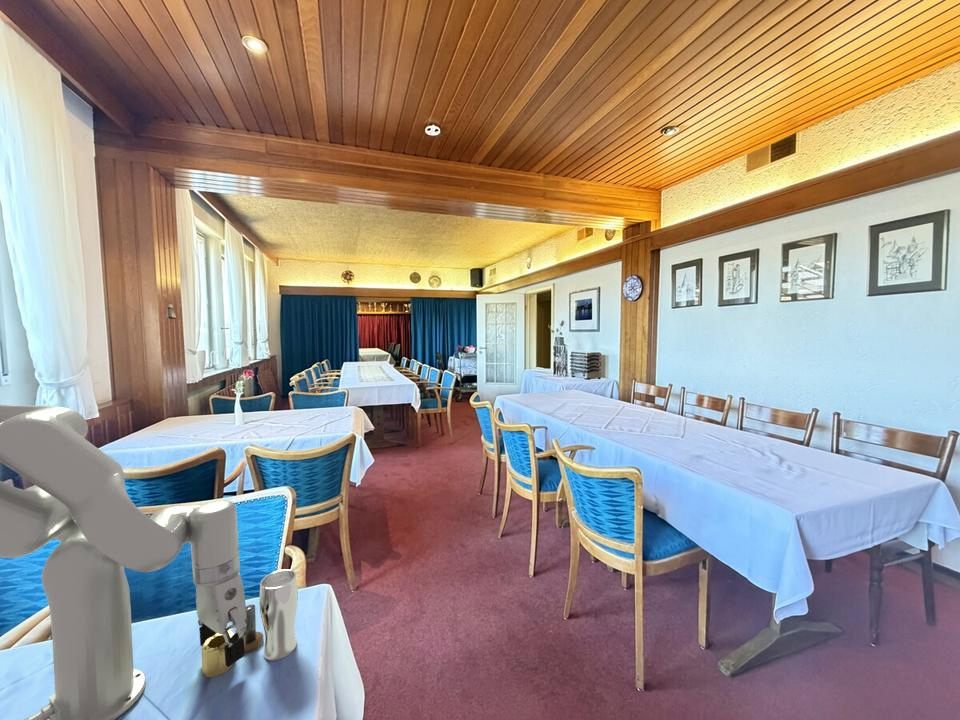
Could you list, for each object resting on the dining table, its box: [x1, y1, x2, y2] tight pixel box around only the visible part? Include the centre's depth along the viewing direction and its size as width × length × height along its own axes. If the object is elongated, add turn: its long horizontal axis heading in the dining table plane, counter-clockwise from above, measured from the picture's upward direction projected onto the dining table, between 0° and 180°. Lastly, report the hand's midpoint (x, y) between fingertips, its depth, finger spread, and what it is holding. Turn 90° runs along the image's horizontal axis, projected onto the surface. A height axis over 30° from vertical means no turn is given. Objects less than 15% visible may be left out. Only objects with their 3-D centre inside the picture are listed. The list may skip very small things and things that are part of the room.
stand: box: [244, 604, 264, 654], centre depth 79 cm, size 5×5×8 cm
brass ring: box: [201, 630, 234, 679], centre depth 74 cm, size 5×5×5 cm
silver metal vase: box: [259, 568, 299, 662], centre depth 78 cm, size 7×7×15 cm
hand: (222, 650), depth 74 cm, fingers open, 9 cm apart
